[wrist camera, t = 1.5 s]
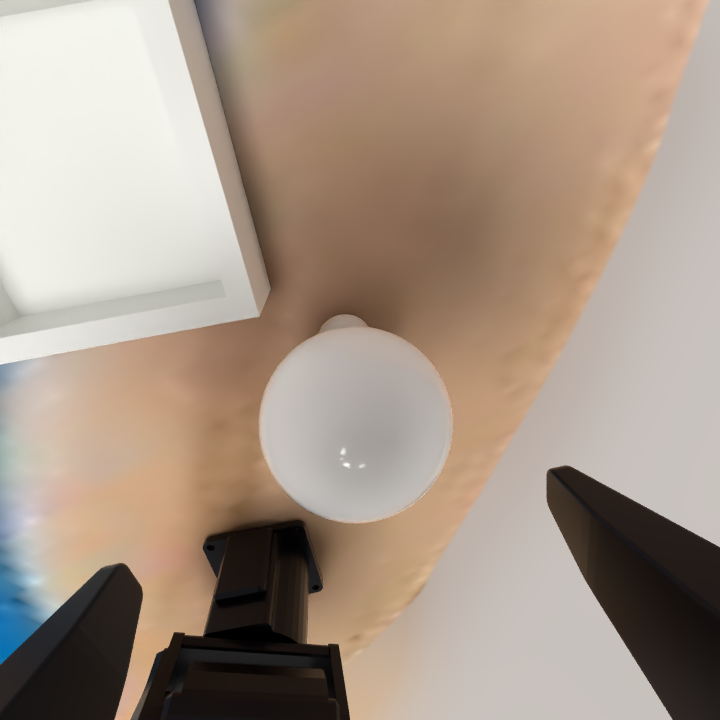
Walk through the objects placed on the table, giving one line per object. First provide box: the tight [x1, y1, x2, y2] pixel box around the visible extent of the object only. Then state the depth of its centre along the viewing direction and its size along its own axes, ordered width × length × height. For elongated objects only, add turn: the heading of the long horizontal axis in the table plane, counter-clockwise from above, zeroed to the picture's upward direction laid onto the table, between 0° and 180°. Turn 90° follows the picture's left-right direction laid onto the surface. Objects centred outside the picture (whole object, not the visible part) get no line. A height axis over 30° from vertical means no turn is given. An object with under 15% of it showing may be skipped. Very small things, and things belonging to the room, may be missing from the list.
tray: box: [0, 0, 271, 364], centre depth 15 cm, size 12×12×4 cm
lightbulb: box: [258, 314, 453, 523], centre depth 16 cm, size 6×6×11 cm
